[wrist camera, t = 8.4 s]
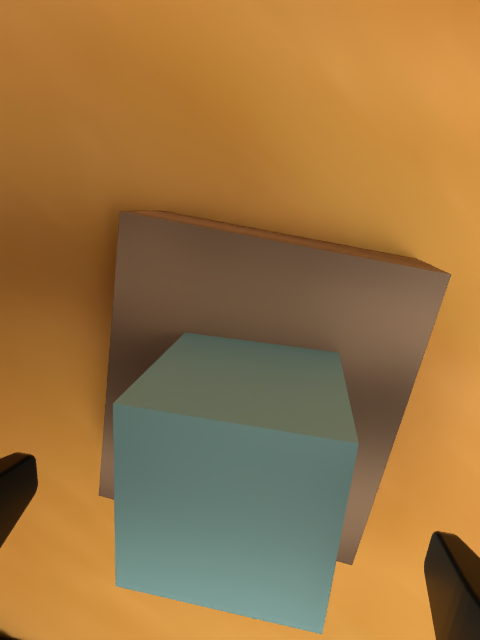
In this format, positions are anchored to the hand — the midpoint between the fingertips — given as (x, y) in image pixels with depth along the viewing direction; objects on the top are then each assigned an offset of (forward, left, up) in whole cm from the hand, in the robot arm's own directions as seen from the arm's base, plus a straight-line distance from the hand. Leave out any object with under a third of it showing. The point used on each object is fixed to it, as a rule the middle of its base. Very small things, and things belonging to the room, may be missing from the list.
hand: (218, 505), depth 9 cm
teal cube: (0, 0, -5) cm, 5 cm away
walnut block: (0, 0, -9) cm, 9 cm away
